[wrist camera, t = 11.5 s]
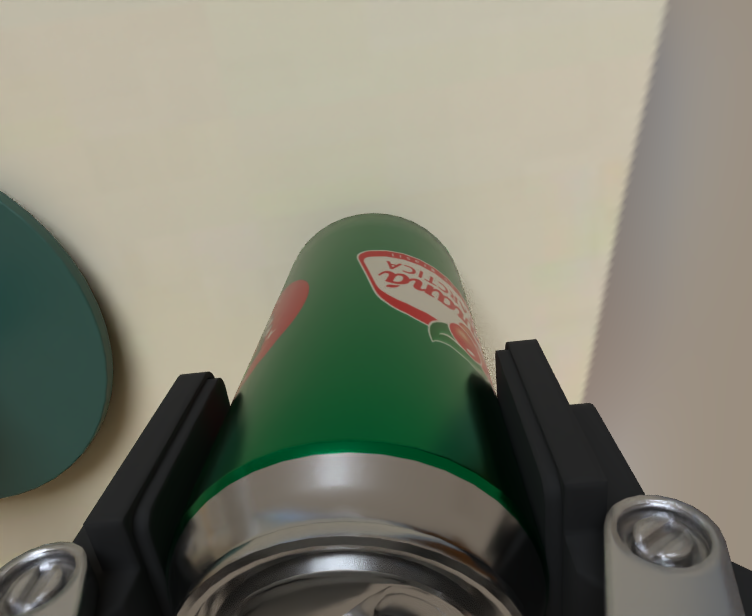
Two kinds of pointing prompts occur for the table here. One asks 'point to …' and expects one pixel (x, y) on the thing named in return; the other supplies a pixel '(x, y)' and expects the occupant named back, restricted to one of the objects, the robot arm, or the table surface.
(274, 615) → the soda can
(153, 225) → the table surface
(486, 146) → the table surface
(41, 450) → the pot lid
